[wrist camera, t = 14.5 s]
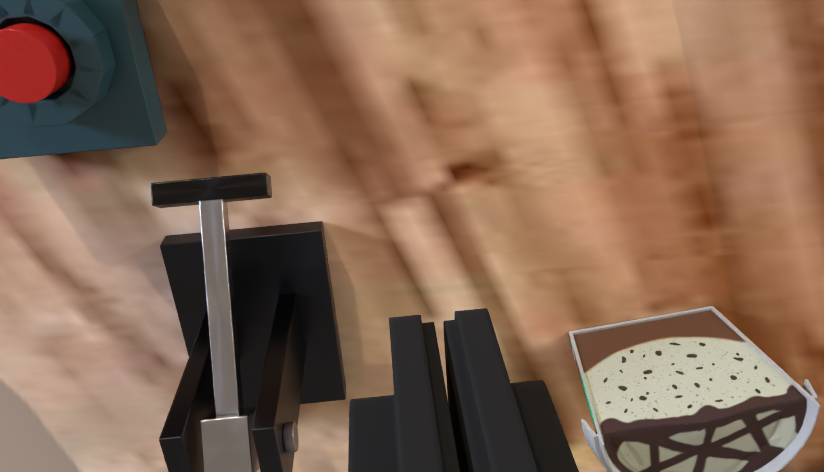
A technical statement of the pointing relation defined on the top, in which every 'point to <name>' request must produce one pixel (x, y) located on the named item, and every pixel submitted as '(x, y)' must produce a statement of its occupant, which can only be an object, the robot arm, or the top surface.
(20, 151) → the button block
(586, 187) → the top surface
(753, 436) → the food container
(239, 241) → the bracket
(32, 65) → the button
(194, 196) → the lever
